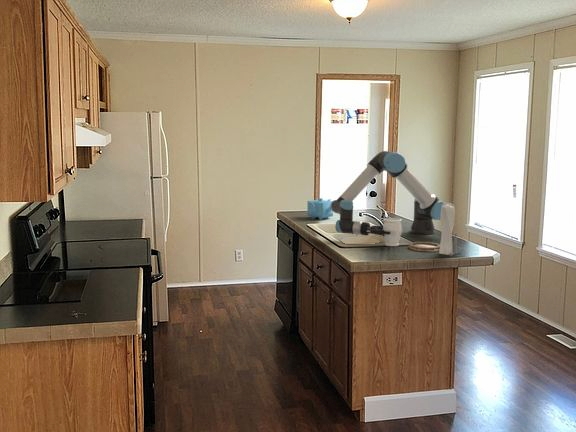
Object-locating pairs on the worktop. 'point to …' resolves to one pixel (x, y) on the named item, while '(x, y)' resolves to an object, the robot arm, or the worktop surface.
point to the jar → (392, 225)
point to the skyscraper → (447, 230)
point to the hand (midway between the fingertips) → (399, 231)
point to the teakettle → (319, 209)
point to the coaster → (424, 246)
